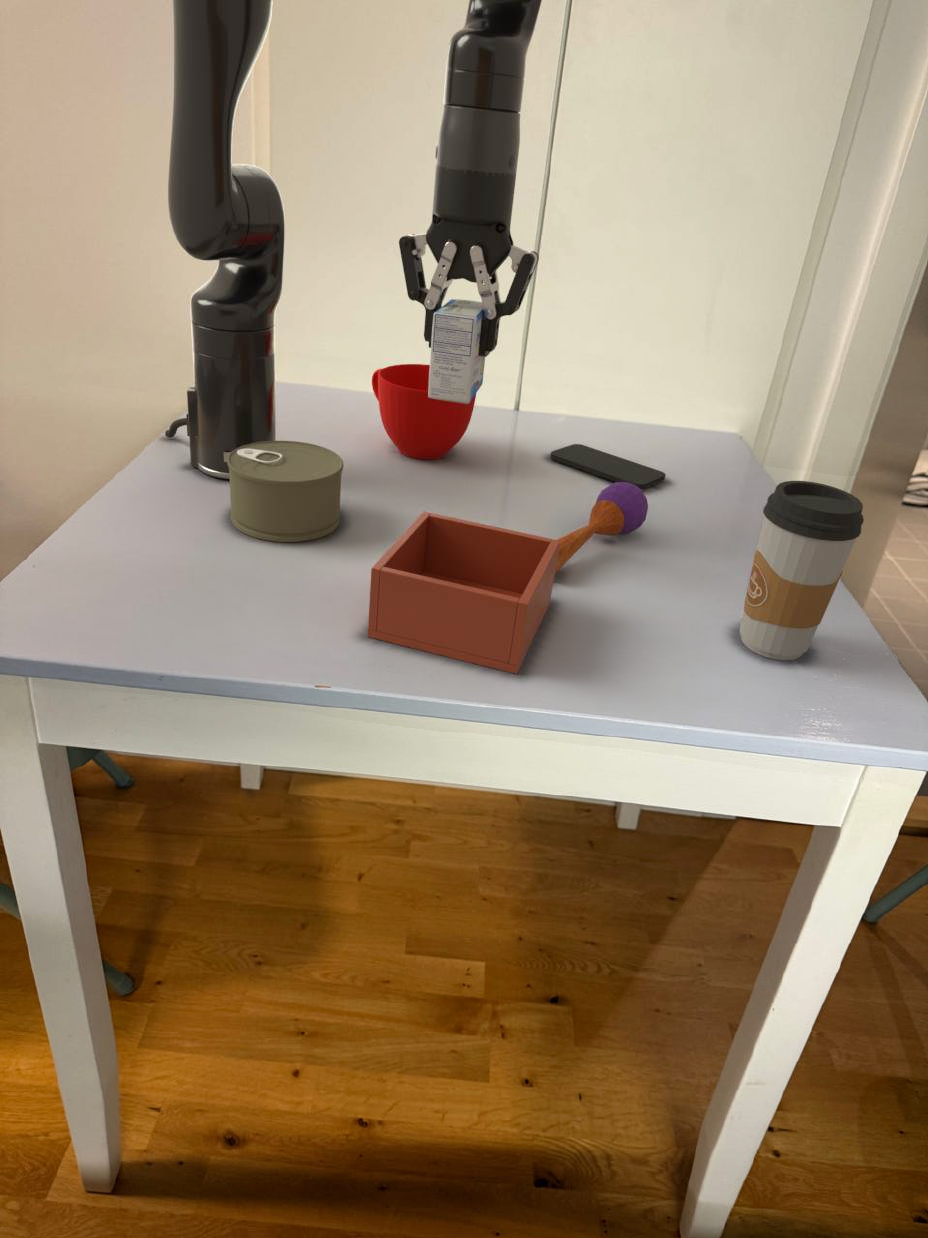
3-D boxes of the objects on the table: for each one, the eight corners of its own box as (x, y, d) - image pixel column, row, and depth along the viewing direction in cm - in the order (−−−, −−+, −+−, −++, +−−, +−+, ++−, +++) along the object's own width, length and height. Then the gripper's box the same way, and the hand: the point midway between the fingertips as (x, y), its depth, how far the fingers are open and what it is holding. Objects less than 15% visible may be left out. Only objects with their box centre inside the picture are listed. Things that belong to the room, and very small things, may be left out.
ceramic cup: (405, 421, 131) (410, 352, 126) (489, 456, 122) (498, 383, 117) (335, 435, 123) (338, 362, 118) (420, 475, 113) (426, 397, 108)
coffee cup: (715, 619, 88) (755, 475, 80) (795, 623, 89) (842, 481, 81) (745, 666, 81) (792, 513, 73) (832, 669, 82) (887, 519, 74)
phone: (577, 442, 128) (669, 473, 120) (576, 448, 129) (668, 479, 121) (547, 452, 123) (641, 485, 115) (546, 458, 123) (640, 491, 116)
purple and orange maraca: (515, 532, 91) (610, 472, 105) (519, 585, 94) (611, 520, 108) (565, 541, 88) (657, 478, 102) (568, 595, 91) (656, 527, 104)
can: (312, 552, 92) (313, 489, 88) (207, 528, 94) (204, 466, 91) (358, 511, 102) (360, 453, 98) (262, 490, 104) (261, 433, 101)
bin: (367, 637, 78) (371, 567, 75) (418, 573, 90) (423, 510, 87) (516, 674, 76) (527, 604, 72) (549, 603, 87) (560, 540, 84)
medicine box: (469, 405, 90) (478, 316, 85) (426, 398, 90) (433, 310, 86) (482, 386, 97) (491, 302, 92) (442, 379, 97) (449, 296, 93)
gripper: (559, 172, 85) (534, 354, 93) (416, 154, 87) (405, 333, 96) (543, 175, 78) (518, 370, 87) (390, 156, 81) (380, 347, 89)
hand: (459, 350), depth 91 cm, fingers closed on medicine box, 4 cm apart
